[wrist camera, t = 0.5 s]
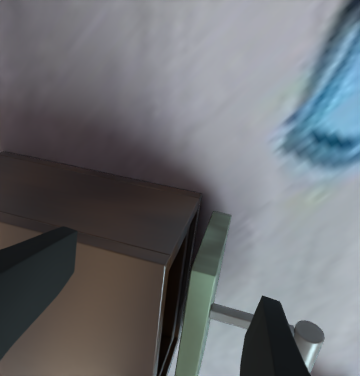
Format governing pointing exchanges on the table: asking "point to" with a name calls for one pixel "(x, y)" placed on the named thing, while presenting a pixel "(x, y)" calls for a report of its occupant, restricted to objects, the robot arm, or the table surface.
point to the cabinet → (98, 267)
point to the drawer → (212, 305)
